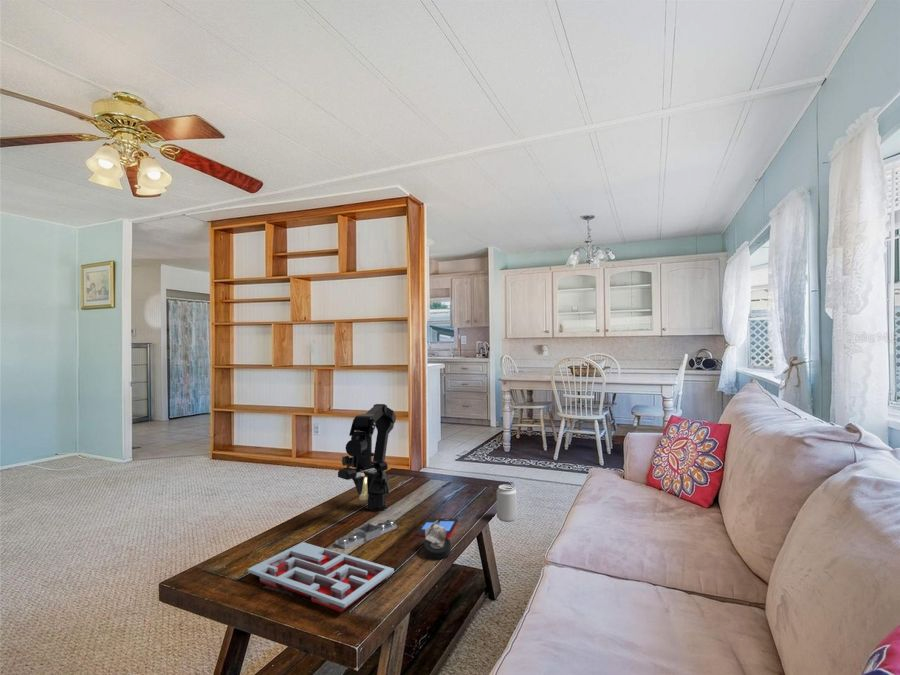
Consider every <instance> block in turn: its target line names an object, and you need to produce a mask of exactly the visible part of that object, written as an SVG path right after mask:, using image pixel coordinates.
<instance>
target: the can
mask: <svg viewBox="0 0 900 675" xmlns="http://www.w3.org/2000/svg"><path fill="white" fill-rule="evenodd" d="M517 492H518V491H517V490H516V487H515V486H514V485H513V484H500V485H498V488H497V489H496V517H497V519H498V520H499V521H500V522H504V523H510V522H511V523H512V522H514V521H515V520H516V519H517V518H518V510H517V509H518V504H517V502H518V499H517V498H518V493H517Z"/></svg>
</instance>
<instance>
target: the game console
mask: <svg viewBox="0 0 900 675" xmlns="http://www.w3.org/2000/svg"><path fill="white" fill-rule="evenodd" d="M437 520H438V525H440V526H442V527H444V528H445V529H446V537H447V538H448V539H450V537H451V538H452V537H453V535H452V534H454V533H455V531H456V529H455V527H458V526H459V520H458V519H457V518H451V517H450V518H448V517H447V518H445V517H444V518H440V517H439V518H437V517H435V518H434V517H429V518H428V517H427V518H426V519H424V522H422V524H421V525H420V527H419V528H418V529H417V531H416V532H415V533H414V535H415V536H417V537H424V536H425V530H426V529H427V528H428V527H429V526H431V525H432V524H433V523H434V522H435V521H437ZM457 525H458V526H457Z"/></svg>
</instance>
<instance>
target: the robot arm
mask: <svg viewBox="0 0 900 675" xmlns="http://www.w3.org/2000/svg"><path fill="white" fill-rule="evenodd" d="M396 420H397V417H396V414H395V411H394V410H393V409H391V408H389V407H388V405H387V404H384V403H375V404H373V406H372V407H371V408H370V409H369V410H368V411H367V412H366V413H363V414H362V413H361V414H356V416H355V417H354V418H353V419H352V423H351V427H350V431H349V437H350V440H348V441H347V443H346V444H345V452H346V454H348V455H345V456H342V458H341V464H342V466H343V468H340V469H339V470H338V471H337V477H338V478H340V479H343V480H347V481H350V480H352V482H353V483H354V485H355V488H356V491H357V494H358V496H359V495H361V492H362V486H363V479H364V477H362V476H363V475H362V473H363V474H364V476H368V499H367V506H365V509H367V510H369V511H372V512H375V513H378V512H380V511H383V510H386V509H388V508H389V506H388V505H386V503H387V501H386V495H388V494H390V484H389V482H388V479H387V474H386V472H385V471H387V470H388V469H389V468H388V467H389V466H388V463H387V462H386V454H387V448H388V447H387V446H388V442H389V441H388V440H389V439H388V438H389V434H390V433H391V431H392V430H393V429H394V426H395V423H396ZM375 429H376V431H377V432H376V438H375V439H376V440H375V445H374V451H373V450H372V449H373V447H372V446H373V445H372V444H373V441H372V440H373V435H374V432H375ZM372 451H373V452H372ZM372 457H373V458H372ZM344 466H345V467H344ZM350 467H351V468H350Z"/></svg>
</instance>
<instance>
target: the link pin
mask: <svg viewBox="0 0 900 675" xmlns="http://www.w3.org/2000/svg"><path fill="white" fill-rule="evenodd" d="M361 476H362V477H364V479H363V486H362V492H361V495H359V494H358V496H359V497H358V499H359V501H368V476H365V475H361Z"/></svg>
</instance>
